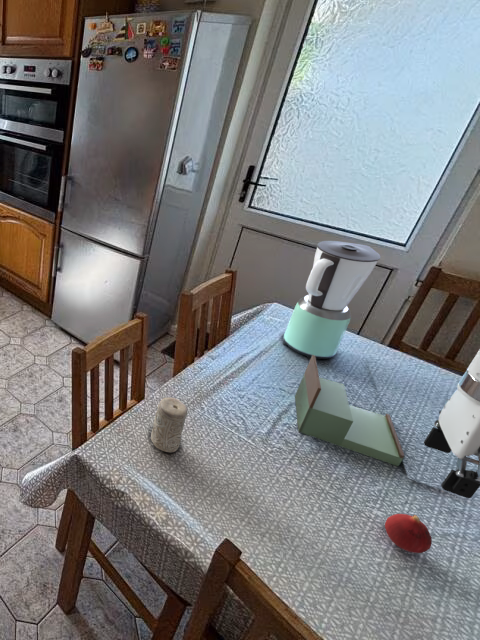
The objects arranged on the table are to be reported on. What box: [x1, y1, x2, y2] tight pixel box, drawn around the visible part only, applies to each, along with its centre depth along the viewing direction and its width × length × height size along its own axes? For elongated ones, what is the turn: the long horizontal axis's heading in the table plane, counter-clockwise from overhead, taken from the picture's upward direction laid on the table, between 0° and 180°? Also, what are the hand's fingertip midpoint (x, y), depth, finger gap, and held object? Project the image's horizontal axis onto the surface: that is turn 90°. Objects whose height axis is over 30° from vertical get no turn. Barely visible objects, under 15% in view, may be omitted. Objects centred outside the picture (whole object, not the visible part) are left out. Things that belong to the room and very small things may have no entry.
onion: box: [384, 513, 432, 554], centre depth 75 cm, size 6×6×8 cm
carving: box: [150, 396, 188, 453], centre depth 95 cm, size 6×8×12 cm
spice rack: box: [294, 355, 405, 467], centre depth 98 cm, size 18×14×14 cm
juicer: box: [282, 240, 381, 361], centre depth 121 cm, size 19×13×35 cm
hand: (444, 469), depth 69 cm, fingers open, 9 cm apart
